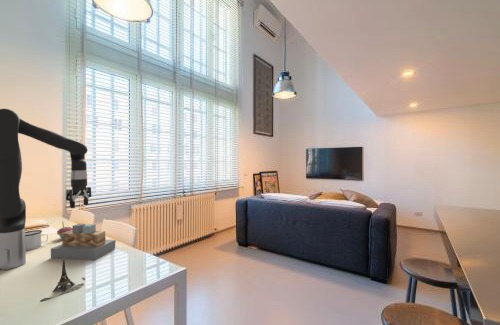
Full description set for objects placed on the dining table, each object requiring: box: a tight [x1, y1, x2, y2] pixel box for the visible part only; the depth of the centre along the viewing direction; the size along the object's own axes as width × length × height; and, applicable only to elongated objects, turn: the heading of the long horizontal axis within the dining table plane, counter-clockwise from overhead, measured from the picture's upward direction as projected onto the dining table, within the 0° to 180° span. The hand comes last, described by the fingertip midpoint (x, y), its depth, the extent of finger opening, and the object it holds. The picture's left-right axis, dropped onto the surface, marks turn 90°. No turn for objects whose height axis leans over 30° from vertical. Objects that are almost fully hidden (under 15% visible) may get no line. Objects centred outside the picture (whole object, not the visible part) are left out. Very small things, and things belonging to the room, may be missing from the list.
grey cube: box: [71, 223, 86, 233], centre depth 126 cm, size 4×4×4 cm
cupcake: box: [56, 220, 73, 240], centre depth 150 cm, size 9×8×12 cm
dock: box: [50, 239, 117, 261], centre depth 126 cm, size 16×25×5 cm, turn 84°
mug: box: [25, 229, 49, 251], centre depth 135 cm, size 12×10×9 cm
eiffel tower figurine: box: [39, 258, 86, 303], centre depth 91 cm, size 15×10×13 cm
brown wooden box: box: [61, 230, 106, 247], centre depth 125 cm, size 21×6×6 cm, turn 83°
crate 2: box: [83, 223, 97, 234], centre depth 125 cm, size 4×4×4 cm
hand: (79, 206), depth 131 cm, fingers open, 8 cm apart
